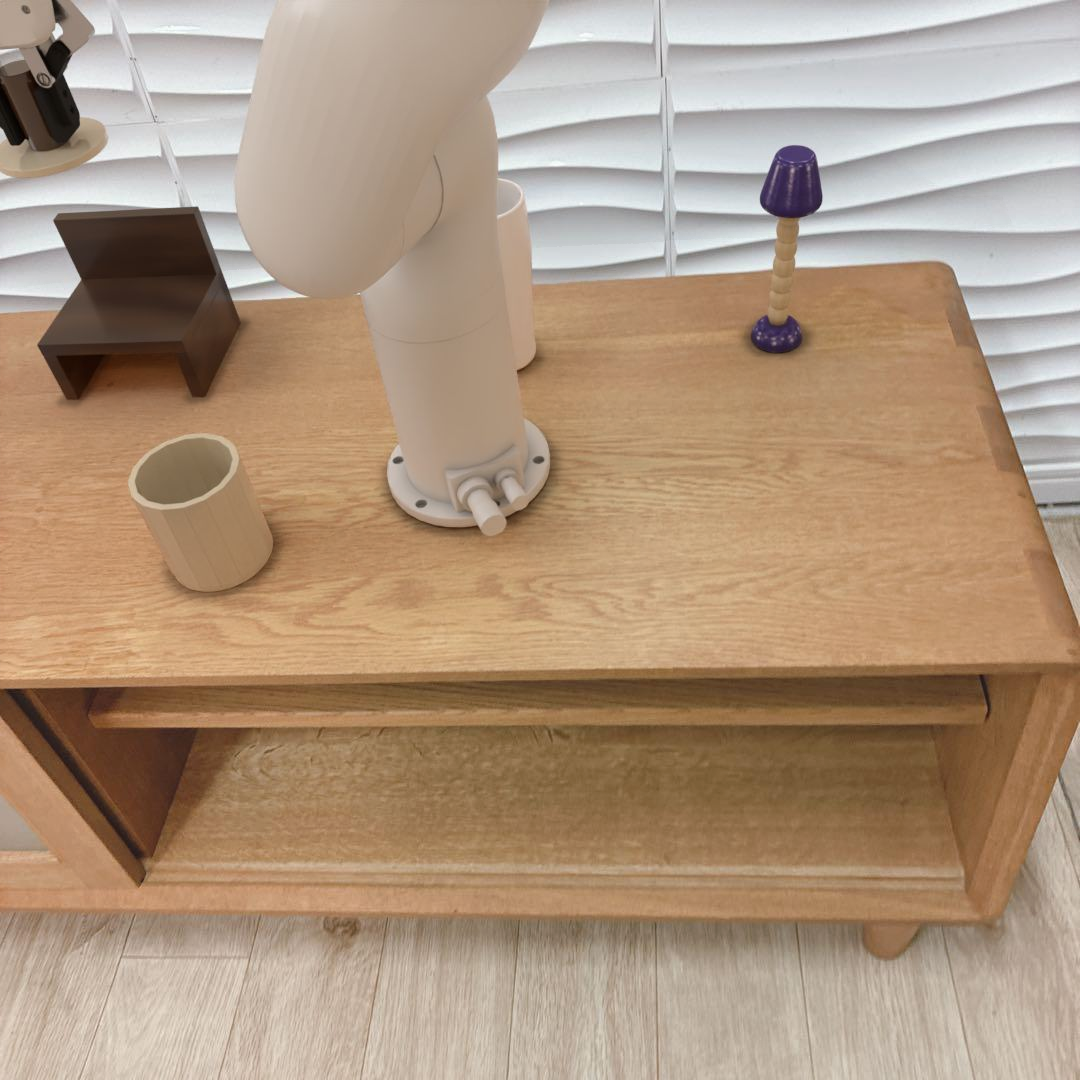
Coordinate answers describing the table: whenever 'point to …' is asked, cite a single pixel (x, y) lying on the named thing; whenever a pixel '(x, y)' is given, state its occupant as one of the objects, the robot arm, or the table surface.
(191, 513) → the pot
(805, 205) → the toy lamp
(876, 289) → the table surface
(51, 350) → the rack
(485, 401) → the robot arm
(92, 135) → the lid
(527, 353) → the drinking glass
